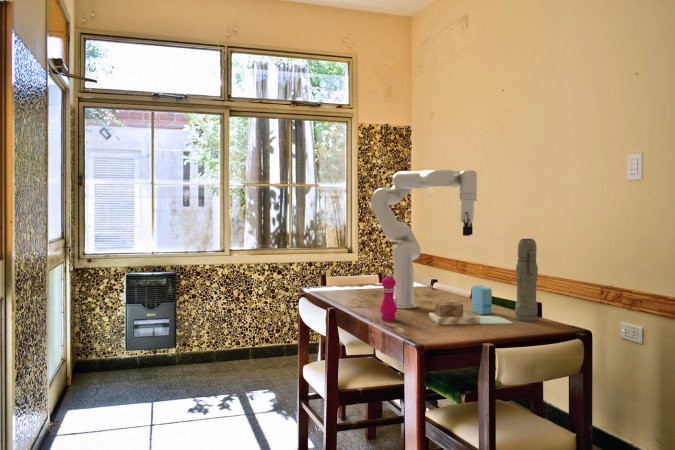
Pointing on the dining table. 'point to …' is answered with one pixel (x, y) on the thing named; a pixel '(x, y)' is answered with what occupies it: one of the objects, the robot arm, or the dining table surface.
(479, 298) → the data package
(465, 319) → the board
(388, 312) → the pepper mill
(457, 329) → the dining table surface
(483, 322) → the mat
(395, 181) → the robot arm
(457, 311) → the walnut box
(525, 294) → the stone moai statue
